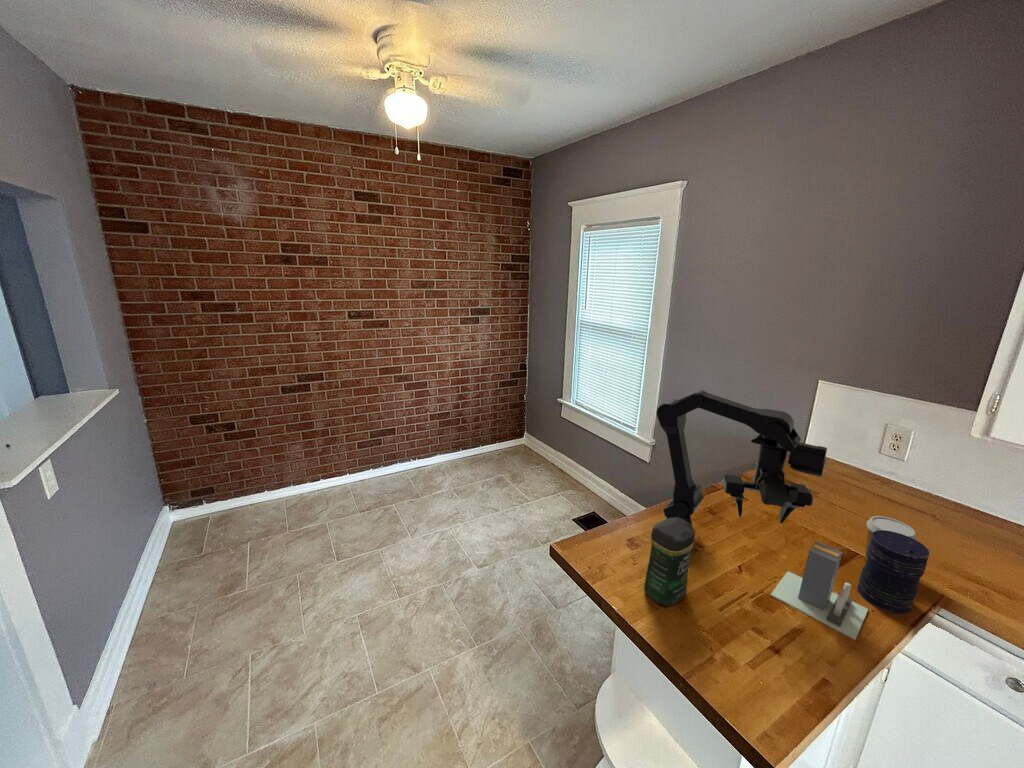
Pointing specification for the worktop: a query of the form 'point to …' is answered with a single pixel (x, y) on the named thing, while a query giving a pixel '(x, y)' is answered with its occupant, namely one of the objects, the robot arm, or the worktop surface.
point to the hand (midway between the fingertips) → (759, 519)
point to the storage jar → (892, 571)
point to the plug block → (819, 575)
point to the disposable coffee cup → (887, 528)
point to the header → (837, 611)
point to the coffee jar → (669, 560)
